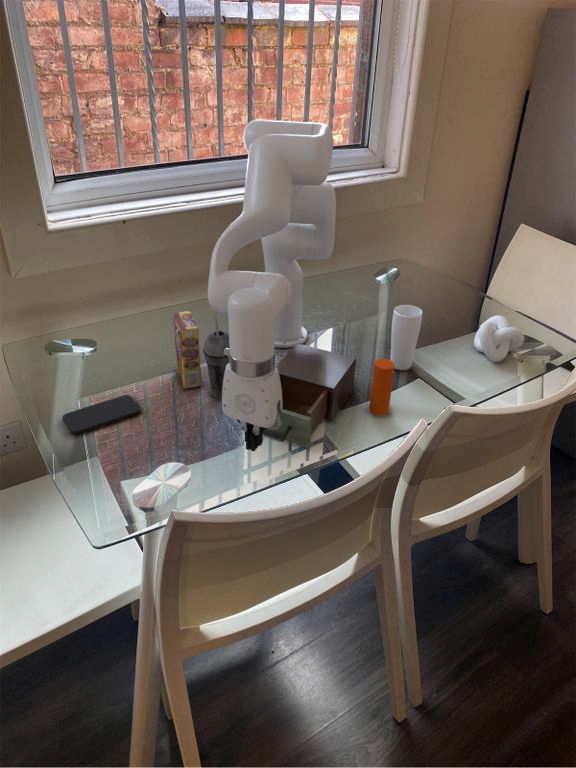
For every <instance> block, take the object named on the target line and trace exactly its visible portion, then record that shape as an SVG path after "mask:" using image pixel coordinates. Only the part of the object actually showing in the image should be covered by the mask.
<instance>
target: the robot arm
mask: <svg viewBox="0 0 576 768" xmlns="http://www.w3.org/2000/svg"><path fill="white" fill-rule="evenodd" d="M333 135H334V134H333V131H332V130H331V128H330V126H329V125H328V124H326V123H322V122H312V121H311V122H310V121H307V122H305V121H291V120H290V121H288V120H271V119H269V120H268V119H253V120H251V121H249V122H248V123H247V124H246V126H245V127H244V130H243V143H244V148H245V150H246V152H247V154H248V155H247V163H246V164H247V165H246V174H245V183H244V194H243V203H242V211H241V214H240V215H239V216H238V217H237V218H236V219H234V221H232V222H231V223H230V224H229V225H228V226H227V227H226V228H225V230H224V231H223V232H222V234H221V235H220V236H219V238H218V240H217V242H216V243H215V245H214V248H213V250H212V252H211V253H212V254H211V258H210V265H209V275H208V280H207V281H208V282H207V300H208V303H209V306H210V308H211V309H212V310H213V311H214V312H216V313H218V314H222V315H227V319H228V320H227V321H228V323H227V324H228V334H229V347H230V348H225V350H224V355H225V356H228V357H229V363H228V364H227V365H226V368H225V373H224V379H223V388H222V399H221V408H222V412H223V414H224V415H225V416H226V417H229V418H231V419H235V420H236V421H237V422H238V424H239V425H240V429H241V431H242V432H243V435H244V442H245V450H247V451H251V452H255V451H256V450H257V449H258V448H259V447H261V446H262V445H263V443H264V442H263V441H264V435H263V431H264V430H266V429H267V428H269V429H279V427H280V426H281V425H282V424H281V419H280V415H281V414H282V390H281V382H280V377H279V373H278V369H277V368H276V367H275V366H276V364H275V362H276V361H275V360H276V359H275V358H276V353H275V352H276V351H275V348H277V349H279V348H281V349H288V348H290V349H291V348H293V347H294V346H295V345H296V344H297V343H298V344H302V345H303V344H304V343H305V342H306V341H307V339H308V331H307V329H306V328H305V327H304V326H303V301H304V300H303V299H304V298H303V297H304V272H303V270H302V268H301V266H300V265H299V263H298V262H297V260H302V261H303V260H305V261H326V260H329V258H330V257H331V256H332V254H333V252H334V249H335V239H336V214H337V196H336V191H335V188H334V186H333V185H332V183H330V182H328V181H326V180H327V178H328V176H329V173H330V168H331V162H332V158H333V152H334V137H333ZM258 240H261V246H262V253H263V259H264V260H263V261H264V272H263V271H249V270H235V269H233V270H232V269H229V266H230V262H231V261H232V258H233V257H234V255H236V253H237V252H238V251H239V250H241V249H242V248H244V247H246V246H247V245H249V244H251V243H254V242H256V241H258ZM267 417H268V418H267Z"/></svg>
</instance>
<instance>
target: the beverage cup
mask: <svg viewBox="0 0 576 768" xmlns="http://www.w3.org/2000/svg"><path fill="white" fill-rule="evenodd" d="M214 324H215V325H214V326H215V331H213V332H211V333H210V334H209V335H208V336H206V339H205V341H204V342H203V348H202V352H203V356H204V359H205V361H206V367H207V374H208V380H209V386H210V391H211V395H212V396H213V397H214V398H216V399H219V400H222V388H223V379H224V373H225V368H226V365H227V364H228V363H229V357H228V356H225V355H224V350H225V348H230V347H229V332H226V331H223V330H219V324H218V317H217V315H216V316H214Z"/></svg>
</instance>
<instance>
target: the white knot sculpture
mask: <svg viewBox="0 0 576 768" xmlns="http://www.w3.org/2000/svg"><path fill="white" fill-rule="evenodd" d="M497 328H498V329H497ZM524 342H525V334H524V333H523V331H522V330H521V329H519V328H518V327H515V326H511V321H510V320H509V319H508V317H505V316H504V315H499V314H498V315H493V316H491V317H489V318H487V319H486V320H485V321H484V322H483V323H481V324H480V326H479V327H478V330H477V331H476V333H475V336H474V340H473V345H474V348H475V349H476V351H478V352H480V353H484V355H485V356H486V358H487V359H488V360H489V361H492V362H494V363H498V362H499V363H500V362H502V361H503V360H504V359H506V357H507V356H508V354H509V352H513V351H514V352H515V351H517V350H518V349H519V348H520V347H522V346H523V344H524Z"/></svg>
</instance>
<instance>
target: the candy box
mask: <svg viewBox="0 0 576 768" xmlns="http://www.w3.org/2000/svg"><path fill="white" fill-rule="evenodd" d="M172 319H173V333H174V346H175V359H176V369H177V373H178V375H179V378H180V381H181V382H182V386H183V389H192V388H198V387H202V374H201V373H202V372H201V353H200V333H199V331H200V330H199V327H198V324H197V322H196V321H195V318H194V316H193V315H192V312H191V311H179V312H174V313H172Z"/></svg>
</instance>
